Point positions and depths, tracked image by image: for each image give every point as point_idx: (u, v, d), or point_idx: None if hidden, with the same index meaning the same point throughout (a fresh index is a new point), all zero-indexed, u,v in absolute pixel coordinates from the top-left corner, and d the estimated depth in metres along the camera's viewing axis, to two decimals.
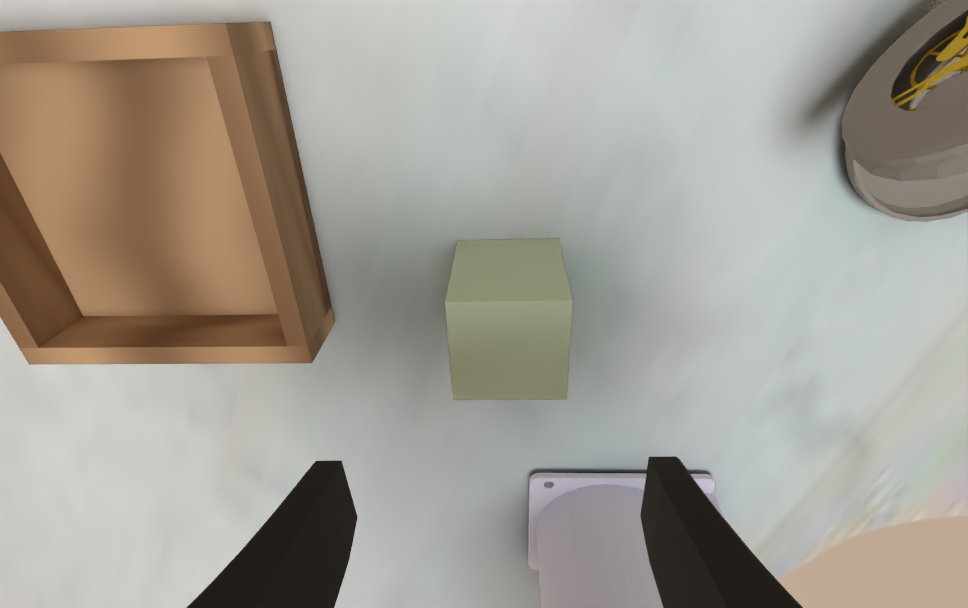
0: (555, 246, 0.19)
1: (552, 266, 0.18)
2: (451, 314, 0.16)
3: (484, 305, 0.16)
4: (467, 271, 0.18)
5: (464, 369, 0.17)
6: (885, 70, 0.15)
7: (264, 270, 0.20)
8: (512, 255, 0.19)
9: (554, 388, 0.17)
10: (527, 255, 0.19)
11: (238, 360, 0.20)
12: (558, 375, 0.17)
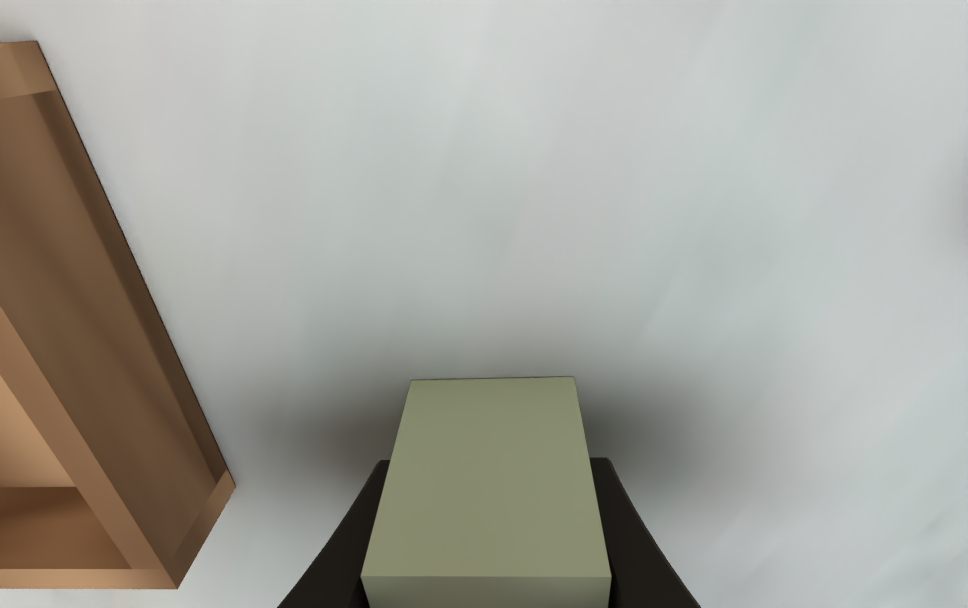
0: (570, 398, 0.11)
1: (567, 458, 0.10)
2: (376, 593, 0.08)
3: (438, 581, 0.08)
4: (416, 472, 0.10)
5: None
6: None
7: None
8: (497, 424, 0.11)
9: None
10: (523, 424, 0.11)
11: (59, 585, 0.12)
12: None
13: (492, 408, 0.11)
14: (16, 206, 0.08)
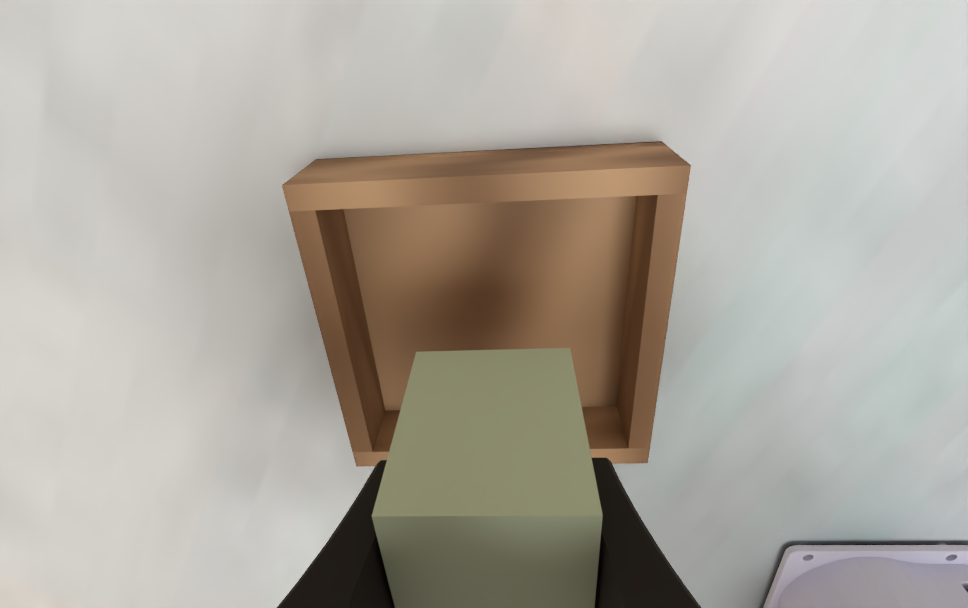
0: (566, 366, 0.12)
1: (563, 417, 0.11)
2: (385, 533, 0.09)
3: (442, 521, 0.09)
4: (421, 429, 0.11)
5: (416, 604, 0.10)
6: None
7: (585, 367, 0.20)
8: (497, 388, 0.12)
9: None
10: (522, 389, 0.12)
11: None
12: None
13: (493, 375, 0.12)
14: None
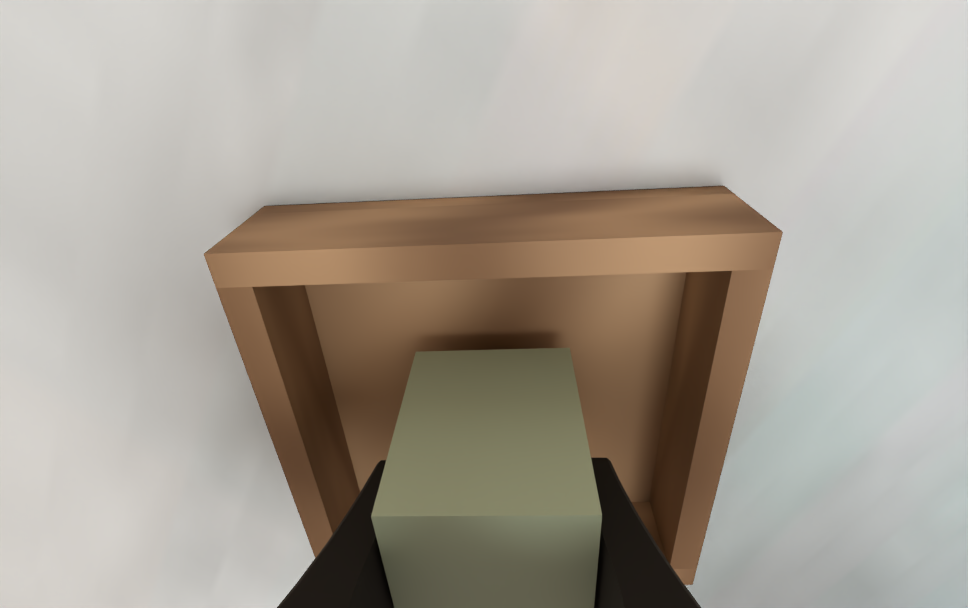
0: (565, 366, 0.12)
1: (563, 417, 0.11)
2: (385, 533, 0.09)
3: (442, 521, 0.09)
4: (421, 429, 0.11)
5: (416, 603, 0.10)
6: None
7: (613, 459, 0.16)
8: (497, 388, 0.12)
9: None
10: (521, 388, 0.12)
11: None
12: None
13: (492, 375, 0.12)
14: None
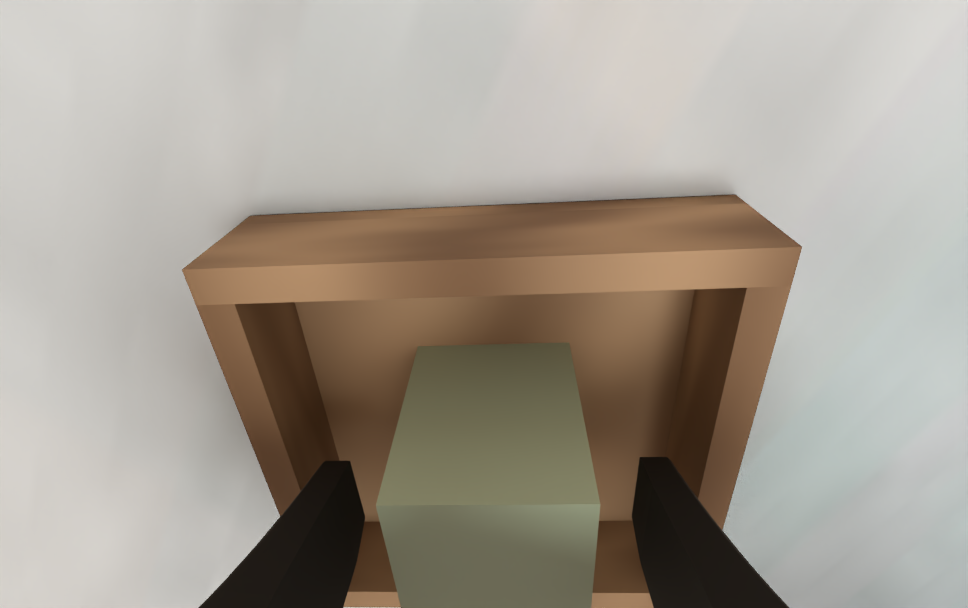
0: (565, 360, 0.12)
1: (562, 410, 0.11)
2: (389, 522, 0.09)
3: (445, 510, 0.09)
4: (423, 421, 0.11)
5: (419, 591, 0.10)
6: None
7: (616, 477, 0.16)
8: (498, 382, 0.12)
9: None
10: (522, 382, 0.12)
11: (599, 605, 0.15)
12: (576, 598, 0.10)
13: (493, 369, 0.12)
14: None
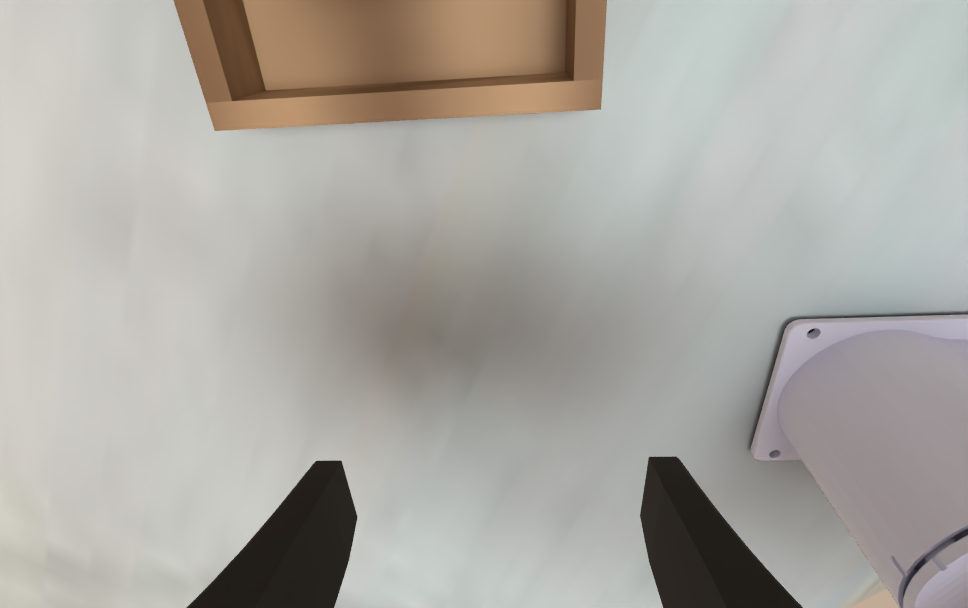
0: None
1: None
2: None
3: None
4: None
5: None
6: None
7: (521, 0, 0.15)
8: None
9: None
10: None
11: (499, 110, 0.15)
12: None
13: None
14: None
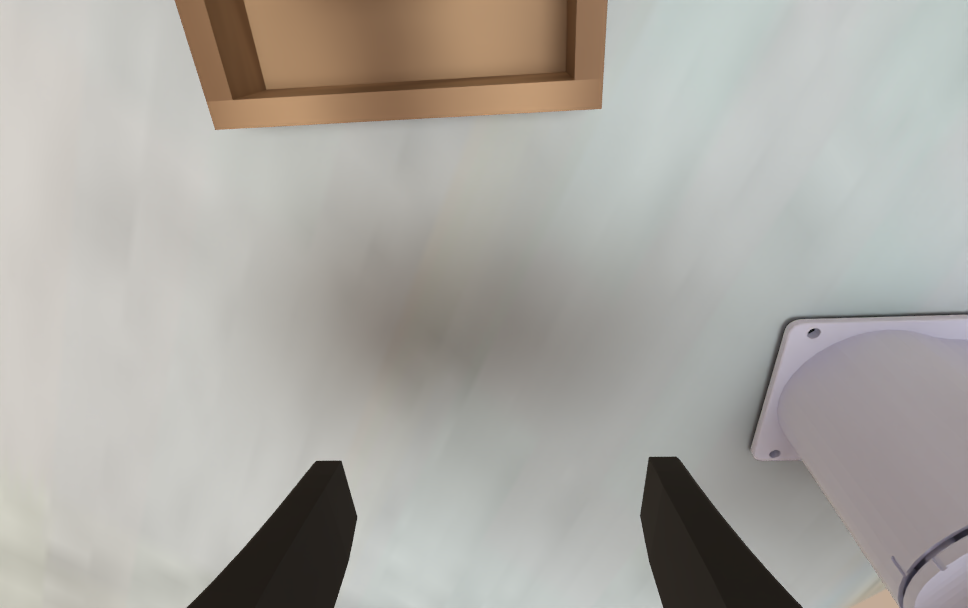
0: None
1: None
2: None
3: None
4: None
5: None
6: None
7: None
8: None
9: None
10: None
11: (500, 109, 0.15)
12: None
13: None
14: None
